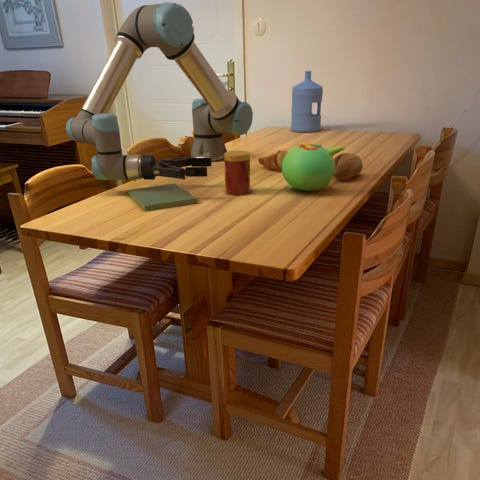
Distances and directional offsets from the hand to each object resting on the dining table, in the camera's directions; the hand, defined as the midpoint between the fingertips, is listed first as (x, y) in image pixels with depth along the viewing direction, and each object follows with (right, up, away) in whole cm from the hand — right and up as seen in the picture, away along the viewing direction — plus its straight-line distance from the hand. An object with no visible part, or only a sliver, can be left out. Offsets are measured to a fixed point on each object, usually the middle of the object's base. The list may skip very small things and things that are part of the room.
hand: (209, 166), depth 152 cm
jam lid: (+9, +3, -2) cm, 9 cm away
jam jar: (+9, -7, +4) cm, 12 cm away
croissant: (+26, +8, +29) cm, 40 cm away
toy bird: (+32, -6, +4) cm, 33 cm away
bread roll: (+46, +1, +16) cm, 49 cm away
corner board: (-15, -10, -1) cm, 18 cm away
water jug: (+45, +53, +105) cm, 126 cm away
